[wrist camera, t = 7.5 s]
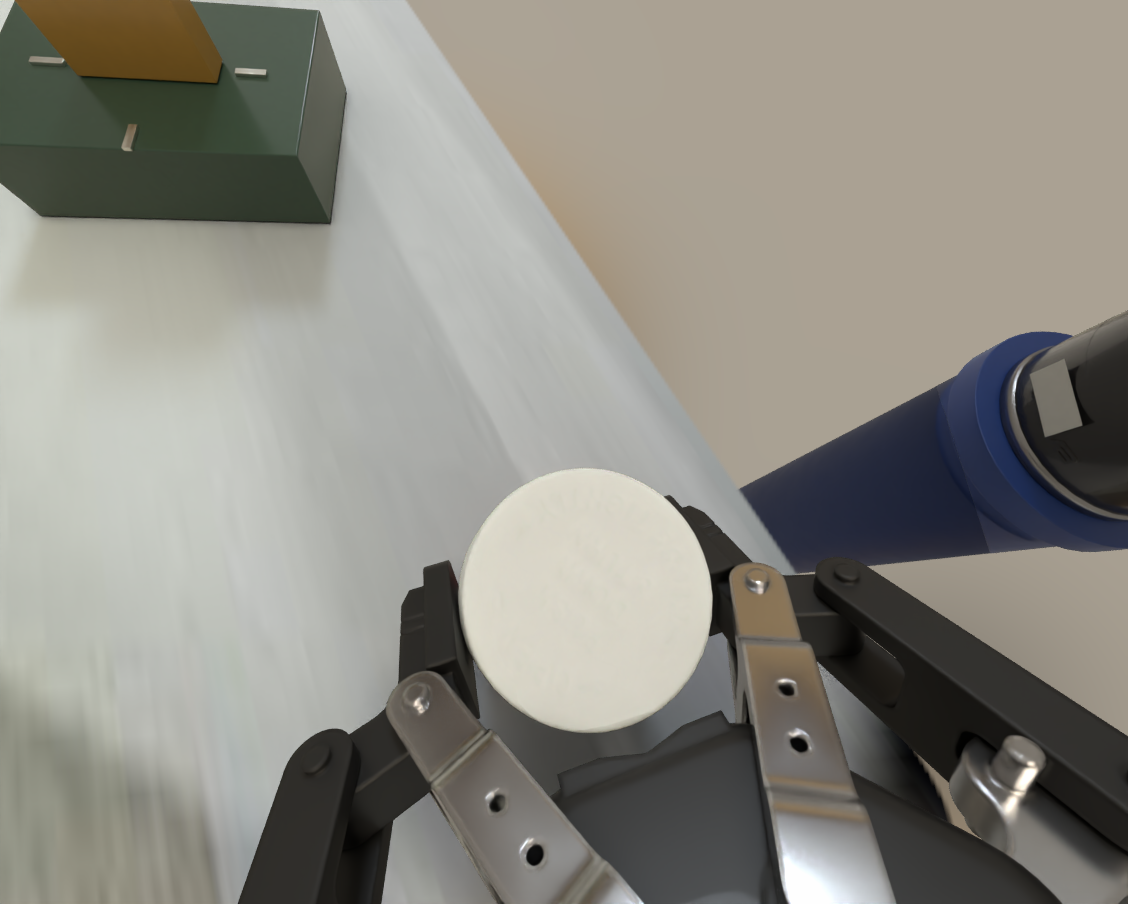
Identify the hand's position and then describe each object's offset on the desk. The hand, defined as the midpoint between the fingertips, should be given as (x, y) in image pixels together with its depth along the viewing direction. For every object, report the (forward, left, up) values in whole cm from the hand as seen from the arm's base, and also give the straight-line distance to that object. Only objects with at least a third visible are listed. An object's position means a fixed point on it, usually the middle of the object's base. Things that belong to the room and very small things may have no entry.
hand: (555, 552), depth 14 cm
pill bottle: (0, +1, -7) cm, 7 cm away
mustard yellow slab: (+18, -23, -3) cm, 30 cm away
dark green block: (+18, -23, -7) cm, 30 cm away
